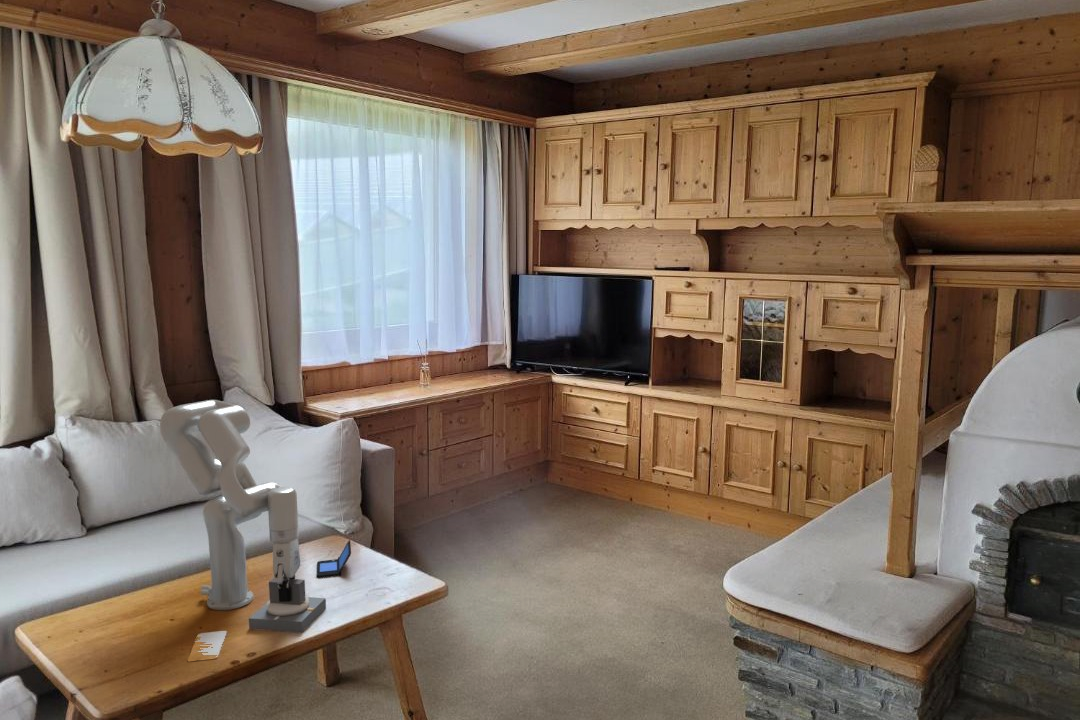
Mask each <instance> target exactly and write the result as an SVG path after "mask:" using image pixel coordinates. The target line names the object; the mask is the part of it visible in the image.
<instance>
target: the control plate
mask: <svg viewBox="0 0 1080 720" xmlns="http://www.w3.org/2000/svg"><path fill="white" fill-rule="evenodd" d="M307 597H308V598H309V606H308V607H307V608H306V609H305V610H304V611H302V612H299V613H296V614H292V615H286V616H277V615H272V614H270V613H268V612H267V602H266V603H265V604H264V605H262V606H261V607H260V608H259V609H258V610H257V611H255V612H254V613H253V614H252V615H251V616H249V617H248V628H249V630H257V631H259V630H260V631H275V632H287V633H289V632H290V633H303V632H304V631H305V630H307V628H308V627H309V626H310V625H311V624H312V623H313V622H314V621H316V619H317V618H318V617H319V616H320V615H321V614H322V613H323V612H324V611H326V609H327V604H326V603H327V602H326V599H327V598H325V597H315V596H312V597H311V596H307Z"/></svg>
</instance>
